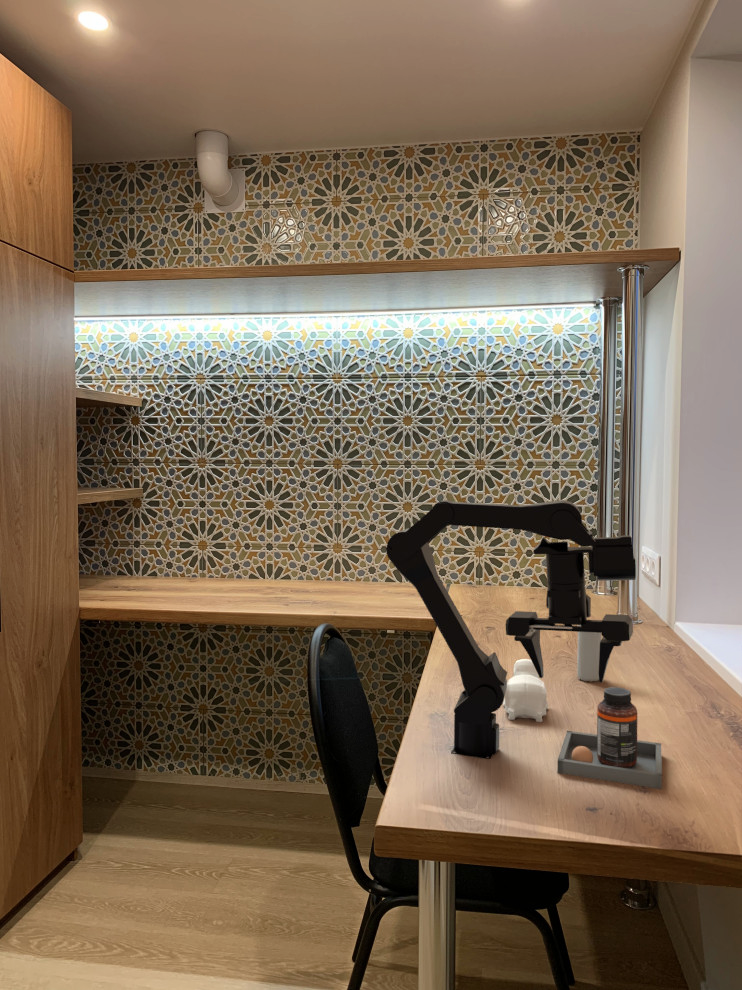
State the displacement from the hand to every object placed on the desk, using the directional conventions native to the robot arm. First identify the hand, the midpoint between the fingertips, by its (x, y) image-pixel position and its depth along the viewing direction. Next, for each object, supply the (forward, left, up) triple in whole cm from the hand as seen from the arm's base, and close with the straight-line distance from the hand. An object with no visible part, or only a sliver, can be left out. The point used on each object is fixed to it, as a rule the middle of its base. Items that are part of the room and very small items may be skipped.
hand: (570, 679), depth 114 cm
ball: (+2, -3, -13) cm, 13 cm away
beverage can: (-1, +45, -13) cm, 47 cm away
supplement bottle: (+7, +1, -13) cm, 15 cm away
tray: (+6, 0, -13) cm, 15 cm away
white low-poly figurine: (-10, +20, -14) cm, 26 cm away
